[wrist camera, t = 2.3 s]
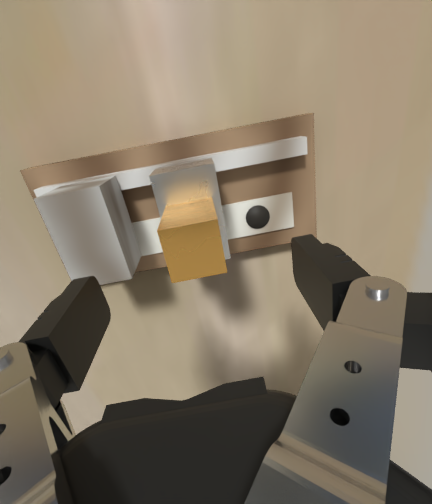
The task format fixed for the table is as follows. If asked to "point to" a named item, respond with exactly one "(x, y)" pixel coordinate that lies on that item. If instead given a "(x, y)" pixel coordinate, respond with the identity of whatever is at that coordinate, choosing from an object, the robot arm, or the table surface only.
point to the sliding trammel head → (190, 220)
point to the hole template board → (145, 207)
